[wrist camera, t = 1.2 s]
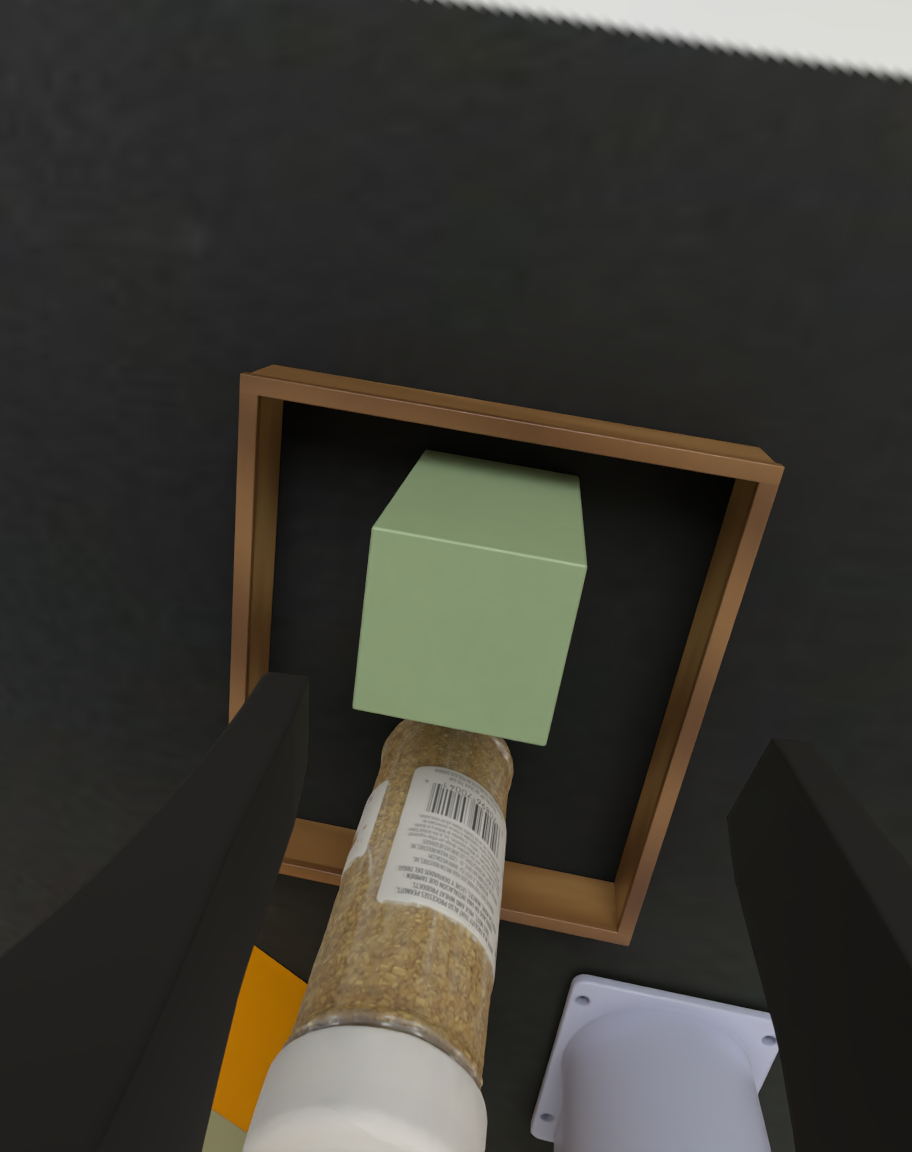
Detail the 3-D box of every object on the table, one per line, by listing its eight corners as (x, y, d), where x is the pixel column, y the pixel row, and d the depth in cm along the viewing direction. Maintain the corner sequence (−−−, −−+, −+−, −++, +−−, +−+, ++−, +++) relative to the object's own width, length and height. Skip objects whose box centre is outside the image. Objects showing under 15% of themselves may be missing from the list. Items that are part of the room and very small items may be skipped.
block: (549, 615, 24) (546, 748, 17) (406, 588, 24) (351, 710, 18) (579, 475, 22) (588, 565, 16) (425, 448, 22) (370, 526, 16)
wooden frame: (623, 894, 28) (629, 946, 25) (248, 817, 28) (223, 862, 26) (762, 445, 21) (785, 466, 19) (270, 362, 22) (239, 373, 20)
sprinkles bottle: (358, 741, 26) (182, 1166, 14) (463, 679, 25) (370, 1091, 13) (437, 833, 28) (339, 1301, 15) (543, 778, 26) (529, 1246, 14)
